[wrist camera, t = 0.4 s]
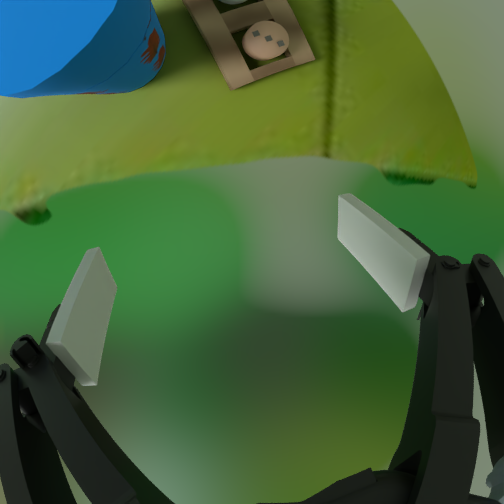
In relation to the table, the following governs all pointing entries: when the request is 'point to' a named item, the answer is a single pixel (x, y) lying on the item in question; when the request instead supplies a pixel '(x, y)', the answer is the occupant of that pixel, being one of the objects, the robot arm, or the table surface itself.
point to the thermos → (78, 46)
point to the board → (223, 25)
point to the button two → (232, 1)
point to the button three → (265, 40)
